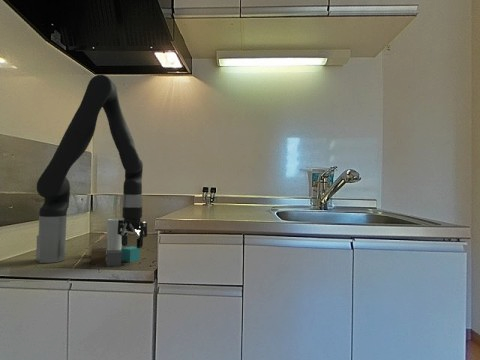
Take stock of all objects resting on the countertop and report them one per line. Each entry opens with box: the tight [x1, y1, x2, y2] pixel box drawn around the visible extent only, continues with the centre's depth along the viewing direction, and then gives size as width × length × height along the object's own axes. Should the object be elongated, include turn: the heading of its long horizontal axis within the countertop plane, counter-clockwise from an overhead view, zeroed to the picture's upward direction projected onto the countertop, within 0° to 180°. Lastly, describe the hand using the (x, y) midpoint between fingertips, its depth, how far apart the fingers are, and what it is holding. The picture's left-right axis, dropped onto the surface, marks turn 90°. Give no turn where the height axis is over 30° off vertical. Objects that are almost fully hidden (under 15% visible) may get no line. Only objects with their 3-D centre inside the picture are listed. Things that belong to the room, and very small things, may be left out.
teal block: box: [121, 245, 141, 263], centre depth 133 cm, size 5×5×5 cm
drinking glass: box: [106, 218, 123, 250], centre depth 142 cm, size 7×7×15 cm
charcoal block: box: [106, 249, 122, 268], centre depth 126 cm, size 5×5×5 cm
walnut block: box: [90, 247, 107, 265], centre depth 129 cm, size 5×5×5 cm
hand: (131, 246), depth 133 cm, fingers open, 8 cm apart
